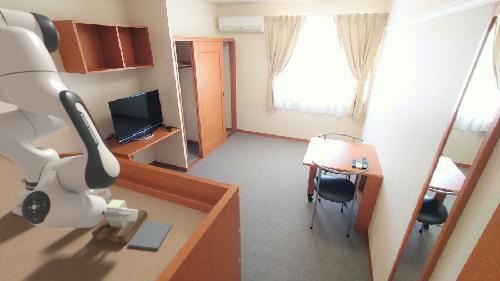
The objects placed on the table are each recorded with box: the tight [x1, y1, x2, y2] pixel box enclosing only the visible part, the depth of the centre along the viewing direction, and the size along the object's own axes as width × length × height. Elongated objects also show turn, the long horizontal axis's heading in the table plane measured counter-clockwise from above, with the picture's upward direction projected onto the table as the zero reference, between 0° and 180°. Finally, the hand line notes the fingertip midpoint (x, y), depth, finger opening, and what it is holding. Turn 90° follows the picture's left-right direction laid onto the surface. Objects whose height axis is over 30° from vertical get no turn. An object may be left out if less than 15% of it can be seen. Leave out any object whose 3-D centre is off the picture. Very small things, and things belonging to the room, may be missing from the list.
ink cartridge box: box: [84, 187, 113, 222], centre depth 82 cm, size 9×5×15 cm, turn 148°
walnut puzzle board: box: [91, 209, 148, 244], centre depth 80 cm, size 12×12×3 cm
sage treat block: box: [107, 198, 129, 229], centre depth 78 cm, size 4×4×10 cm
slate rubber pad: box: [127, 220, 173, 251], centre depth 77 cm, size 10×10×1 cm
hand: (119, 213), depth 78 cm, fingers closed on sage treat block, 4 cm apart
